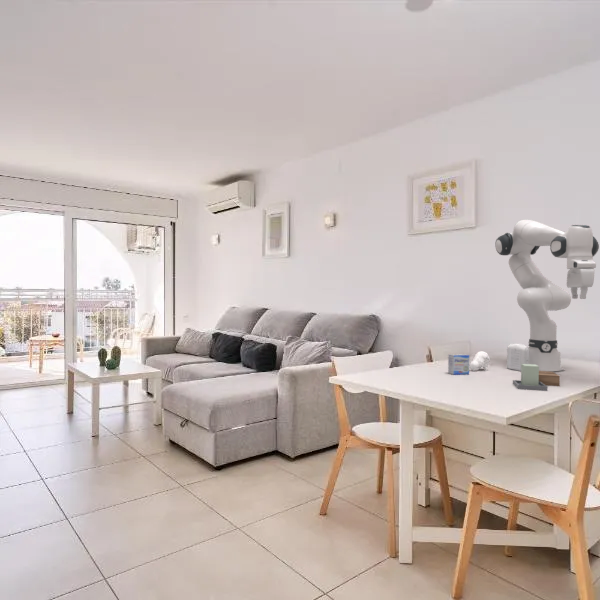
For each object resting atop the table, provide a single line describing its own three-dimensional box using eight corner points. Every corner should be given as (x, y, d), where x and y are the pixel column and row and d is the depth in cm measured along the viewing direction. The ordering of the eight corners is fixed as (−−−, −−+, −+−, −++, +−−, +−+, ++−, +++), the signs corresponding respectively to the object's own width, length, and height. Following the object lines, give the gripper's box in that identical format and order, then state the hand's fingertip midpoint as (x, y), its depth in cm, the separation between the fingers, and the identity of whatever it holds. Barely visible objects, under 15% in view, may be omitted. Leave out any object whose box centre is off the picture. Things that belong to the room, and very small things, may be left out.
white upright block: (530, 371, 211) (531, 344, 211) (524, 372, 209) (525, 345, 209) (511, 368, 220) (511, 342, 220) (505, 368, 218) (505, 342, 218)
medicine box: (453, 375, 199) (453, 355, 199) (447, 373, 203) (448, 353, 203) (469, 374, 201) (469, 355, 200) (463, 372, 205) (464, 353, 205)
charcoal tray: (512, 383, 181) (512, 380, 181) (540, 385, 178) (540, 381, 178) (518, 389, 171) (518, 385, 171) (547, 390, 169) (547, 386, 169)
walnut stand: (525, 379, 190) (525, 370, 190) (552, 381, 187) (552, 371, 187) (531, 384, 180) (531, 374, 180) (559, 386, 178) (559, 375, 177)
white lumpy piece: (490, 351, 214) (477, 355, 206) (491, 369, 214) (478, 374, 207) (478, 349, 218) (464, 354, 211) (478, 367, 219) (465, 372, 211)
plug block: (521, 384, 178) (521, 363, 178) (535, 385, 177) (535, 364, 176) (523, 386, 173) (524, 365, 173) (538, 387, 172) (538, 366, 172)
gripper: (562, 266, 195) (562, 298, 195) (579, 263, 175) (578, 298, 175) (579, 266, 193) (578, 298, 194) (597, 262, 174) (596, 299, 174)
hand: (578, 298), depth 184 cm, fingers open, 8 cm apart
